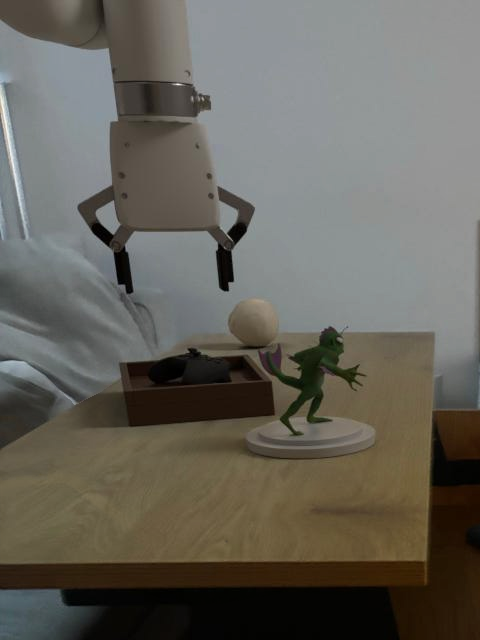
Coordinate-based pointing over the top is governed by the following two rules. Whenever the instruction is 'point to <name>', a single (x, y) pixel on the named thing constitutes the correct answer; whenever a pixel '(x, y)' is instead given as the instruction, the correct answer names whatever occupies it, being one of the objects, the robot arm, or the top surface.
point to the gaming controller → (190, 369)
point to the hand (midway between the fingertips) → (177, 291)
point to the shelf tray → (196, 395)
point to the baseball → (254, 322)
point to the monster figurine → (311, 407)
